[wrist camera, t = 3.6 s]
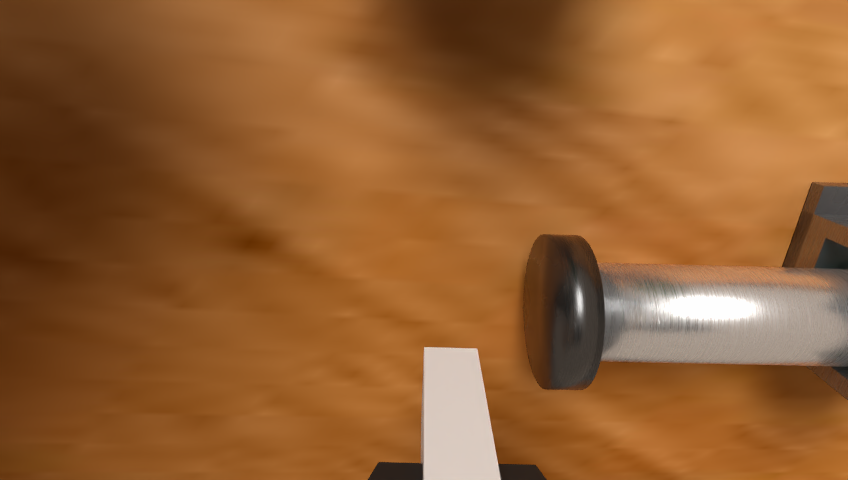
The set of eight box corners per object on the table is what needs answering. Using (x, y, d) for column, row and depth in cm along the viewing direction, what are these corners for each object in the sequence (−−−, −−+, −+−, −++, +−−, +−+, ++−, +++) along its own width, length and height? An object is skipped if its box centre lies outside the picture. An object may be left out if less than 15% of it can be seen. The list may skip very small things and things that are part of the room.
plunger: (518, 332, 21) (551, 425, 16) (533, 213, 19) (577, 275, 13) (880, 340, 21) (1030, 433, 16) (934, 224, 19) (1128, 289, 14)
